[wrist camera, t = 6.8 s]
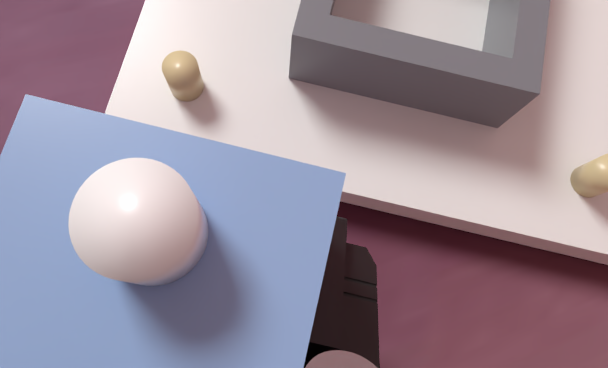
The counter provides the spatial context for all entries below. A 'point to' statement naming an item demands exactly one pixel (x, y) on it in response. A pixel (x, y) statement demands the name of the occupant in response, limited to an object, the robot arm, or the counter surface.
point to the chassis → (399, 103)
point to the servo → (155, 246)
